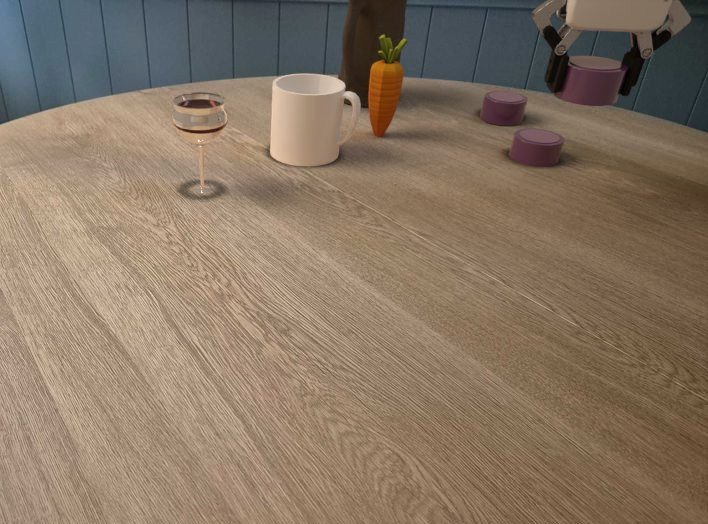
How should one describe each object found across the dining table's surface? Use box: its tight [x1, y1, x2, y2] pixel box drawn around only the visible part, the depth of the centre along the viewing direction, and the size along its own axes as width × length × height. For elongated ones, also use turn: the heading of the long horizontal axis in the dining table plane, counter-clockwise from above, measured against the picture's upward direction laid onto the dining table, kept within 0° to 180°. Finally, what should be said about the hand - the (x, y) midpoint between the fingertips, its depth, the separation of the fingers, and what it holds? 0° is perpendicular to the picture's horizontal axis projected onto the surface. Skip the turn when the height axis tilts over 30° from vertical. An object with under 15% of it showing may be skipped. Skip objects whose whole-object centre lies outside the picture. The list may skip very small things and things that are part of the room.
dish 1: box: [479, 90, 529, 127], centre depth 109 cm, size 7×7×4 cm
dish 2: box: [508, 127, 565, 167], centre depth 95 cm, size 7×7×4 cm
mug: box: [269, 73, 362, 167], centre depth 93 cm, size 13×10×10 cm
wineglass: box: [171, 91, 229, 194], centre depth 83 cm, size 7×7×12 cm
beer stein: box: [337, 0, 408, 108], centre depth 111 cm, size 15×11×20 cm
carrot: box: [368, 35, 409, 138], centre depth 98 cm, size 5×5×15 cm
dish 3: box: [552, 55, 628, 107], centre depth 74 cm, size 7×7×4 cm
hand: (586, 89), depth 75 cm, fingers closed on dish 3, 6 cm apart
